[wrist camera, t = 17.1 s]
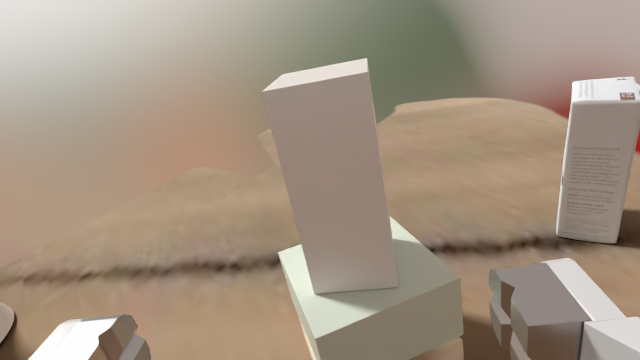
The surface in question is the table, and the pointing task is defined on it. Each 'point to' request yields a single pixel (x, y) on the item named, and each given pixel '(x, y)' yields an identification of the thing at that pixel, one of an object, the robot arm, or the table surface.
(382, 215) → the tall grey block
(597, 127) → the skincare box
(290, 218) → the table surface
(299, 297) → the sage block
